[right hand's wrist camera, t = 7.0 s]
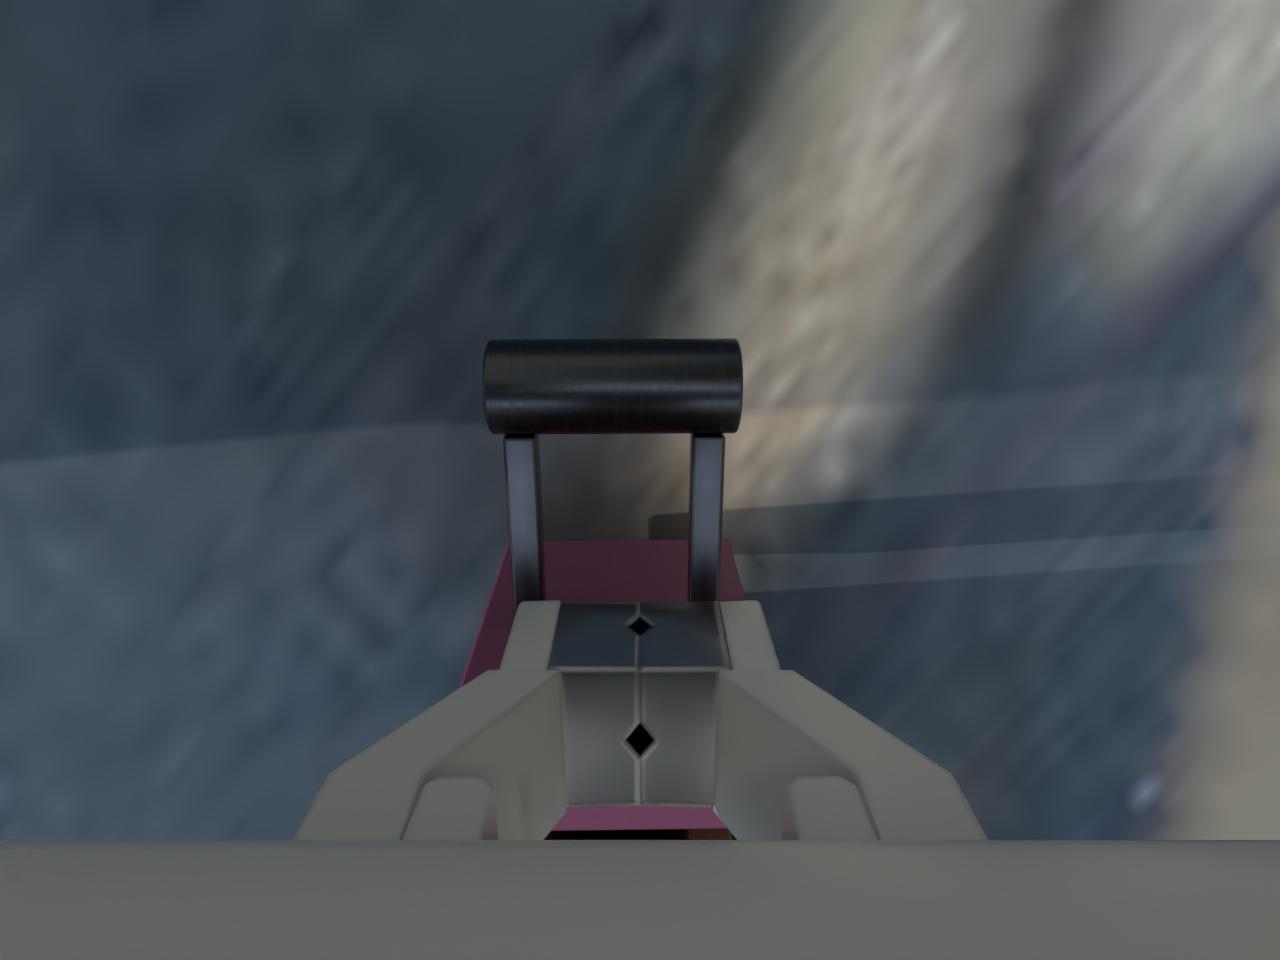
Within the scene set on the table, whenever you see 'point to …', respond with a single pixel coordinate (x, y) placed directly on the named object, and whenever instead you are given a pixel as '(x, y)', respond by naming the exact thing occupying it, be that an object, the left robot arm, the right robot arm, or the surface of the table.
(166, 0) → the table surface
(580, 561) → the drawer
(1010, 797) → the table surface
